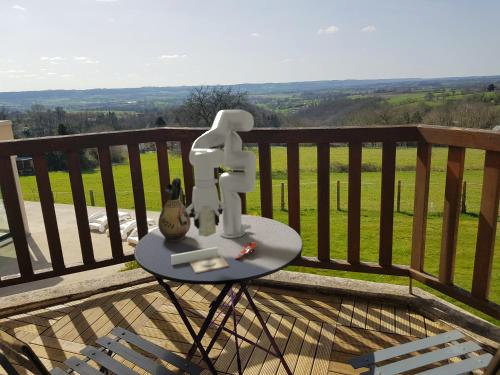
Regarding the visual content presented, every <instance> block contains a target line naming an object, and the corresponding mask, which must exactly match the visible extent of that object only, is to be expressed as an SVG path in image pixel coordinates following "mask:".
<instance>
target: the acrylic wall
mask: <svg viewBox="0 0 500 375" xmlns="http://www.w3.org/2000/svg"><path fill="white" fill-rule="evenodd" d="M218 252H219V250H218V247H217V246H215V247H209V248H204V249H203V248H202V249H198V250H192V251H187V252H182V253H175V254H171V255H170V259H171V262H170V263H171V265H172V266H174V265H180V264H184V263H189V262H192V261H197V260H202V259H208V258H213V257H218V256H219V253H218Z"/></svg>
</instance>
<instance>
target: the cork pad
mask: <svg viewBox="0 0 500 375" xmlns="http://www.w3.org/2000/svg"><path fill="white" fill-rule="evenodd" d="M188 263H189V265H190V267H191V269H192V270H193V272H194V273H195V274H199V273H200V274H201V273H205V272H210V271H215V270H219V269H224V268H229V267H230V264H228V262H227V261H226V260H225V259H224V257H223V256H222V255H218V256H217V257H212V258H206V259H201V260H196V261H191V262H188Z"/></svg>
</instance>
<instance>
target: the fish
mask: <svg viewBox="0 0 500 375" xmlns="http://www.w3.org/2000/svg"><path fill="white" fill-rule="evenodd" d="M257 245H258V242H257V241H253V242H247V243H246V244H243V245H242V247H243V248H244V249H243V250H242V251H240V252H239V253H238V255H237V256H236V257H235V260H236V259H241V258H242V257H243V256H244V255H246V254H249V253H251V252H250V251H252V253H253V252H255V251H256V250H255V249H256V248H257Z"/></svg>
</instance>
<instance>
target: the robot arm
mask: <svg viewBox="0 0 500 375" xmlns="http://www.w3.org/2000/svg"><path fill="white" fill-rule="evenodd" d="M254 120H255V119H254V116H253V115H252V113H250V112H249V111H246V110H244V109H222V110H219V111H218V112H217V113H216V115H215V118H214V119H213V122H212V125H211V127H210V129H209V130H208V131H206V132H205V133H203V134H201V136H199V137H198V138H196V139H195V141H194V142H193V144H192V147H191V149H190V150H189V151H190V152H189V155H188V158H189V159H188V160H189V163H190V165H191V166H193V170H194V172H193V173H194V185H195V186H193V187H192V195H191V196H192V197H191V204H190V205H189V206H187V208H186V207H185V208H186V212H187V213H188V214H189V216H190V217H191V218H193V226H194V227H195V228H196V229H197V230H198V229H199V219H198V216H199V214H200V213H201V212H202V208H203V207H209V210H210V211H215V223H216V227H218V226H219V223H220V216H222V229H221V230H220V231H219V235H220V236H221V237H223V238H226V239H237V237H238V238H240V237H243V236H244V235H245V234H246V231H245V230H246V229H252V228H251V227H252V226H251V224H246V223H244V224H243V223H242V222H243V221H242V199H241V197H240V195H239V193H252V192H254V190H255V187H256V172H257V170H256V169H257V156H256V154H255V152H254V151H252V150H242V148H243V140H242V138H241V137H240V135H239V134H238V133H237V132H249V131H252V130H253V127H254V124H255V121H254ZM223 144H224V148H223V149H224V151H223V150H222V149H219V148H213V147H217V146H220V145H223ZM222 165H224V166H223V167H224V168H225V169H227V170H232V171H233V172H232V171H228V172H223V173H222V174H221V175H219V179H218V178H215V168H220V167H221V166H222ZM234 171H245V172H234ZM217 183H218V185H219V189H220V195H221V200H219V192H218V188H217V186H216V184H217ZM192 210H193V212H192Z"/></svg>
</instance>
